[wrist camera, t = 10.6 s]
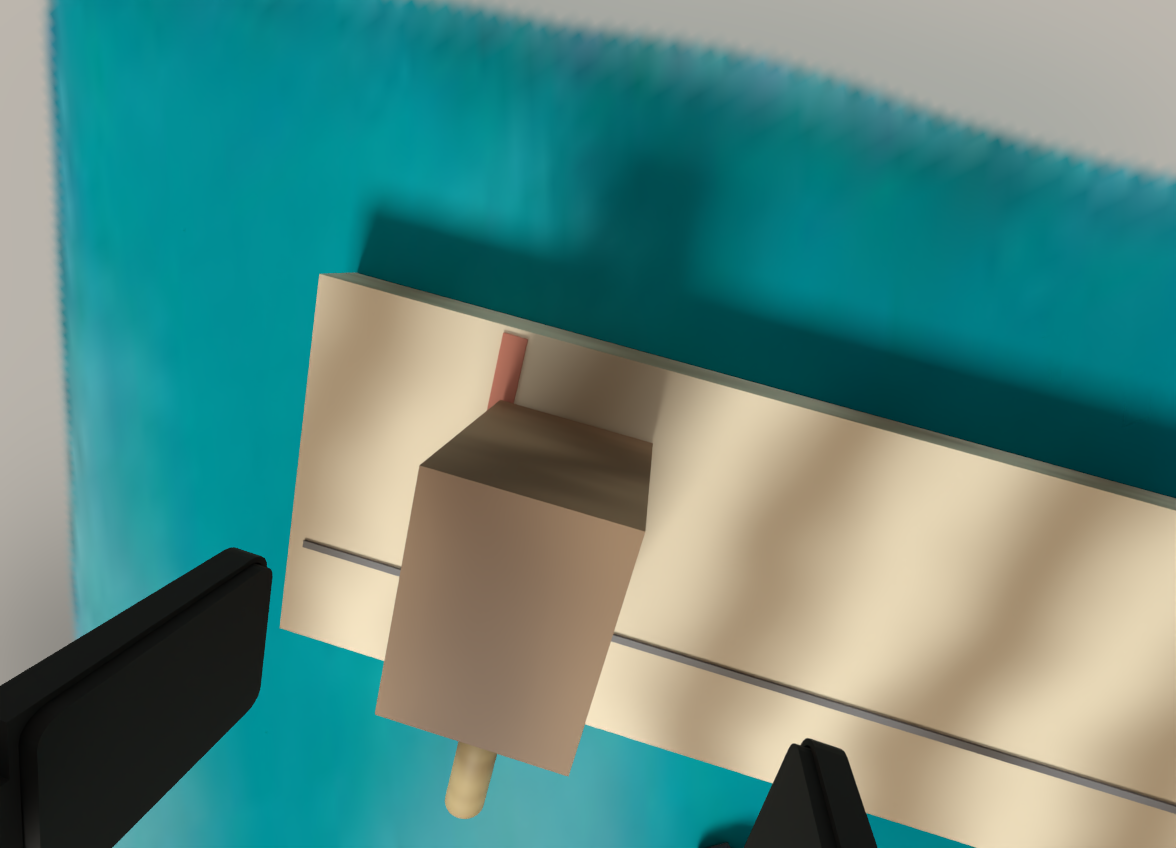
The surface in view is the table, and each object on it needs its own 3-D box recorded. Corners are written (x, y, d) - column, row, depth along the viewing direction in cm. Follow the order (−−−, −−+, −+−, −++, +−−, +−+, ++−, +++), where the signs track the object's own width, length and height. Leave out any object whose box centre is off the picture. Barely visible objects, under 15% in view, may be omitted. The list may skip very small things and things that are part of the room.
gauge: (652, 443, 16) (645, 531, 11) (571, 711, 19) (533, 886, 13) (499, 399, 16) (419, 465, 11) (441, 670, 19) (354, 827, 14)
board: (1351, 546, 16) (1445, 585, 14) (1132, 849, 20) (1183, 914, 18) (356, 272, 18) (317, 273, 16) (314, 595, 22) (278, 629, 20)
